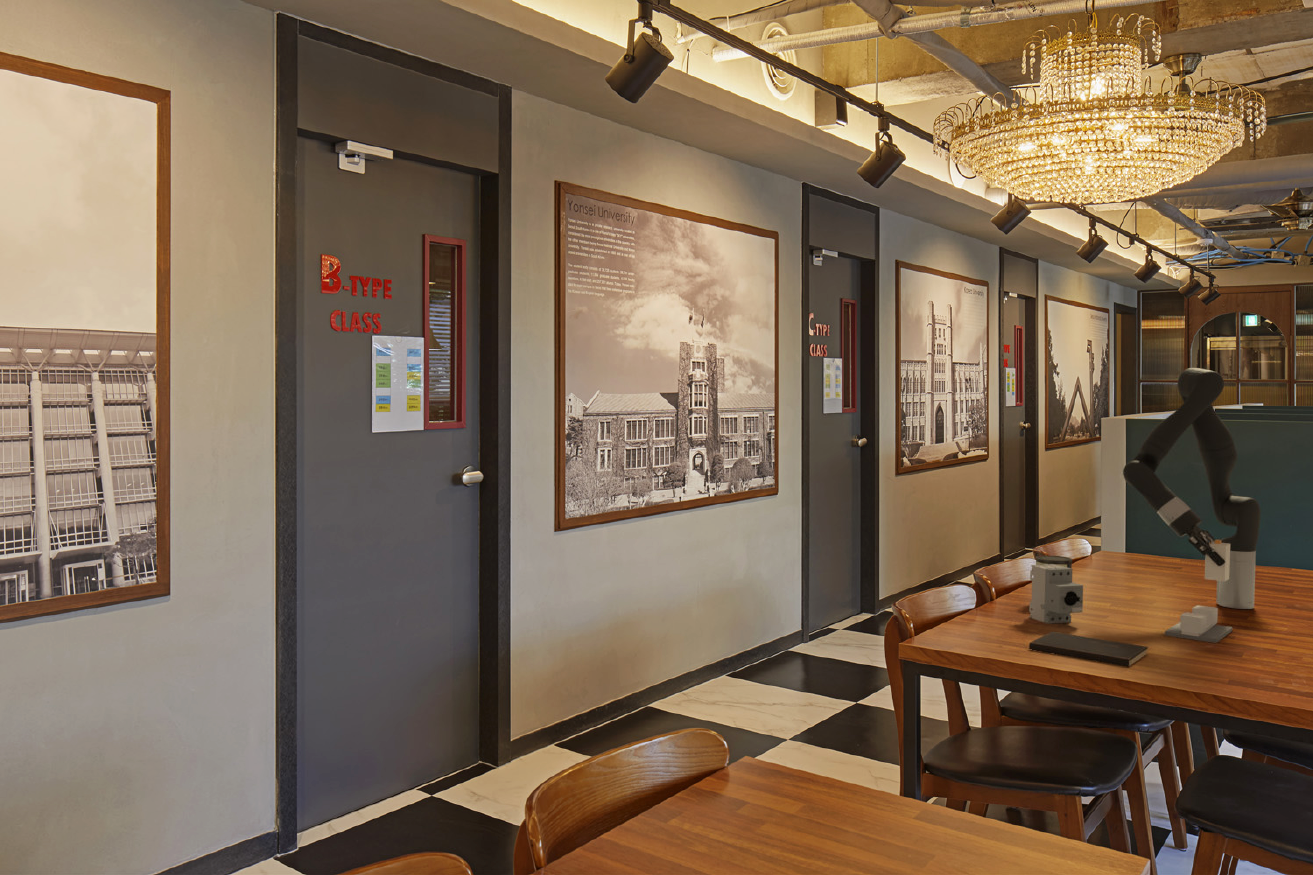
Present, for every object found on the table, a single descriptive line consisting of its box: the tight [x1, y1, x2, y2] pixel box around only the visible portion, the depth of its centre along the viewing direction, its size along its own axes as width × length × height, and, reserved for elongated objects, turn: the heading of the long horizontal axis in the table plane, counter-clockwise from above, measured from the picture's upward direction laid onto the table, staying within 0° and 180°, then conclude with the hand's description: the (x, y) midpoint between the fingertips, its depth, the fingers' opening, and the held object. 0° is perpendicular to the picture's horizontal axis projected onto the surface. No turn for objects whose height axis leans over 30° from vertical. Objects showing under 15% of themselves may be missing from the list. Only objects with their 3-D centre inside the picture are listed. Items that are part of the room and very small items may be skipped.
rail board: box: [1164, 604, 1233, 644], centre depth 256 cm, size 18×12×6 cm, turn 138°
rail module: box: [1204, 539, 1230, 581], centre depth 270 cm, size 5×5×11 cm
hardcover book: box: [1028, 631, 1149, 668], centre depth 236 cm, size 16×23×2 cm
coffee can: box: [1035, 555, 1073, 570], centre depth 292 cm, size 10×10×14 cm
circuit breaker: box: [1028, 564, 1084, 625], centre depth 267 cm, size 8×14×15 cm, turn 15°
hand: (1224, 563), depth 269 cm, fingers closed on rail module, 5 cm apart
